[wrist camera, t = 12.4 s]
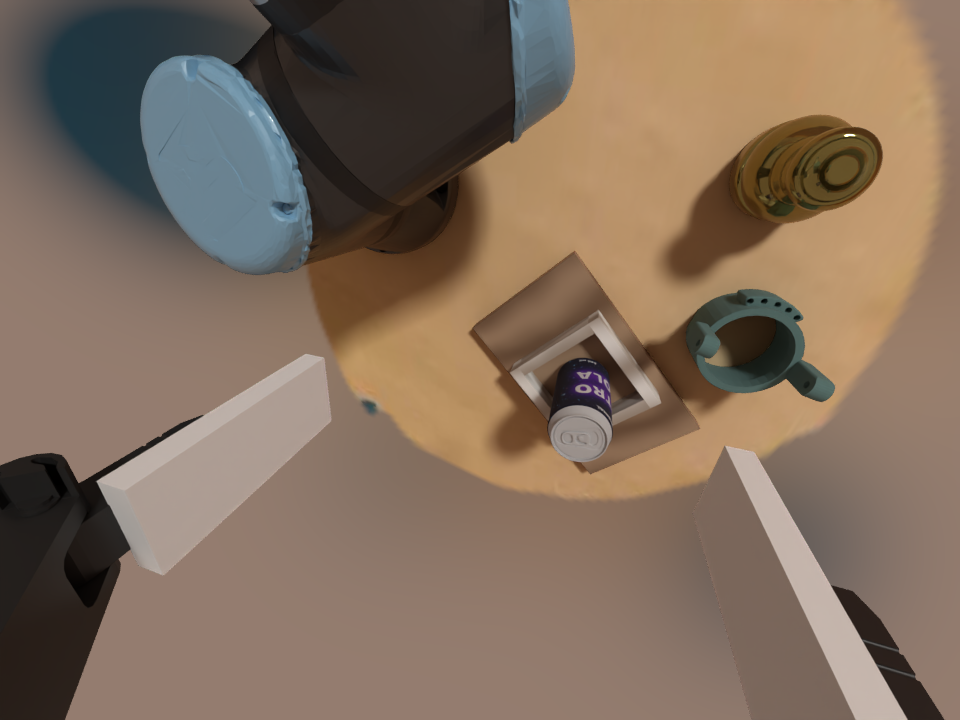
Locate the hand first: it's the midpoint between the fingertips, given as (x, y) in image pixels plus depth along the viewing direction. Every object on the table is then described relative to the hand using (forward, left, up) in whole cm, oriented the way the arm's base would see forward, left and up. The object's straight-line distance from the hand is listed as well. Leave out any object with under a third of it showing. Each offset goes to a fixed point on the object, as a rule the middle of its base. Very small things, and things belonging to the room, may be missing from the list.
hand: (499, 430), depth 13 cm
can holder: (+12, -6, -32) cm, 34 cm away
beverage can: (+12, -6, -30) cm, 33 cm away
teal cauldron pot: (+16, +9, -32) cm, 37 cm away
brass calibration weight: (+5, +18, -32) cm, 37 cm away
